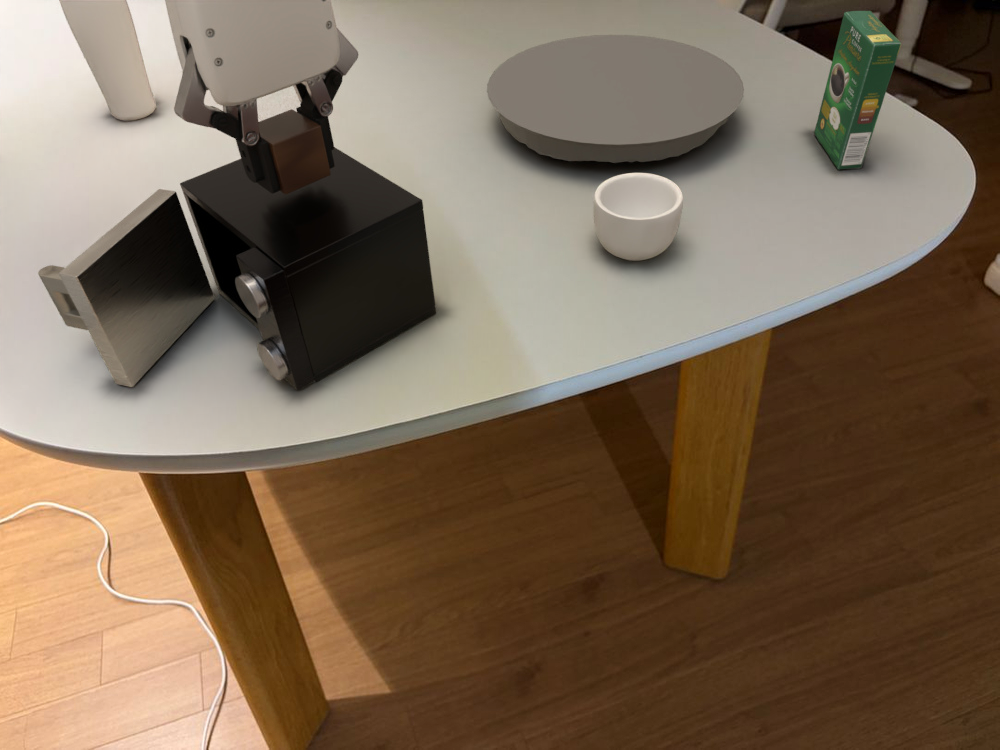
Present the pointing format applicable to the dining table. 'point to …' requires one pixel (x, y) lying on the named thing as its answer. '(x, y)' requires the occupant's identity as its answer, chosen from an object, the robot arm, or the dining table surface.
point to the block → (295, 149)
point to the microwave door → (134, 287)
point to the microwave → (316, 263)
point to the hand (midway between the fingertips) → (293, 171)
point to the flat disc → (614, 97)
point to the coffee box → (855, 88)
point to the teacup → (637, 214)
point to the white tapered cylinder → (112, 54)
